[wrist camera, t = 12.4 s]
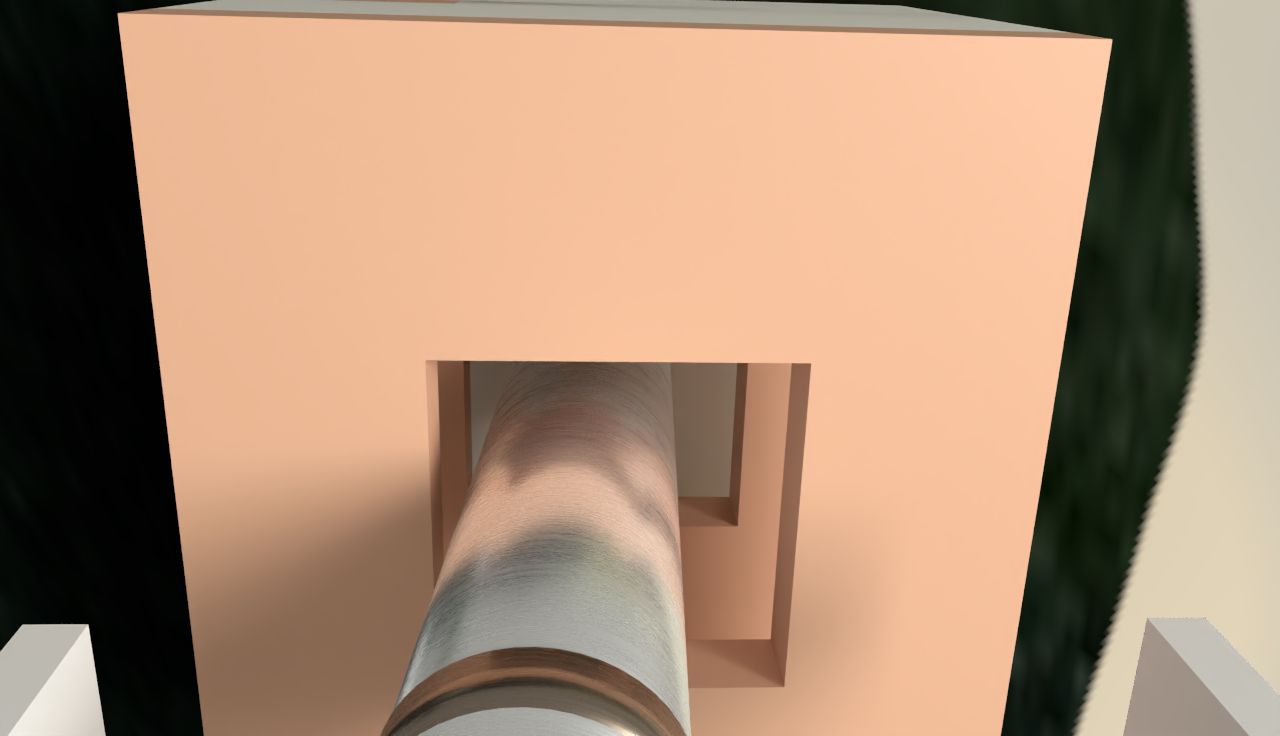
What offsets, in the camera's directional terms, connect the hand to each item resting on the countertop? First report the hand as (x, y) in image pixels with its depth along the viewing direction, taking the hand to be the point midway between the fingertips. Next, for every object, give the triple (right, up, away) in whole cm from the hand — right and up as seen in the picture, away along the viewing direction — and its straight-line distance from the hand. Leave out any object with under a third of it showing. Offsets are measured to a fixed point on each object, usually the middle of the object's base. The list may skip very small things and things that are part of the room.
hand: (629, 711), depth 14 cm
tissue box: (-1, +5, +15) cm, 16 cm away
